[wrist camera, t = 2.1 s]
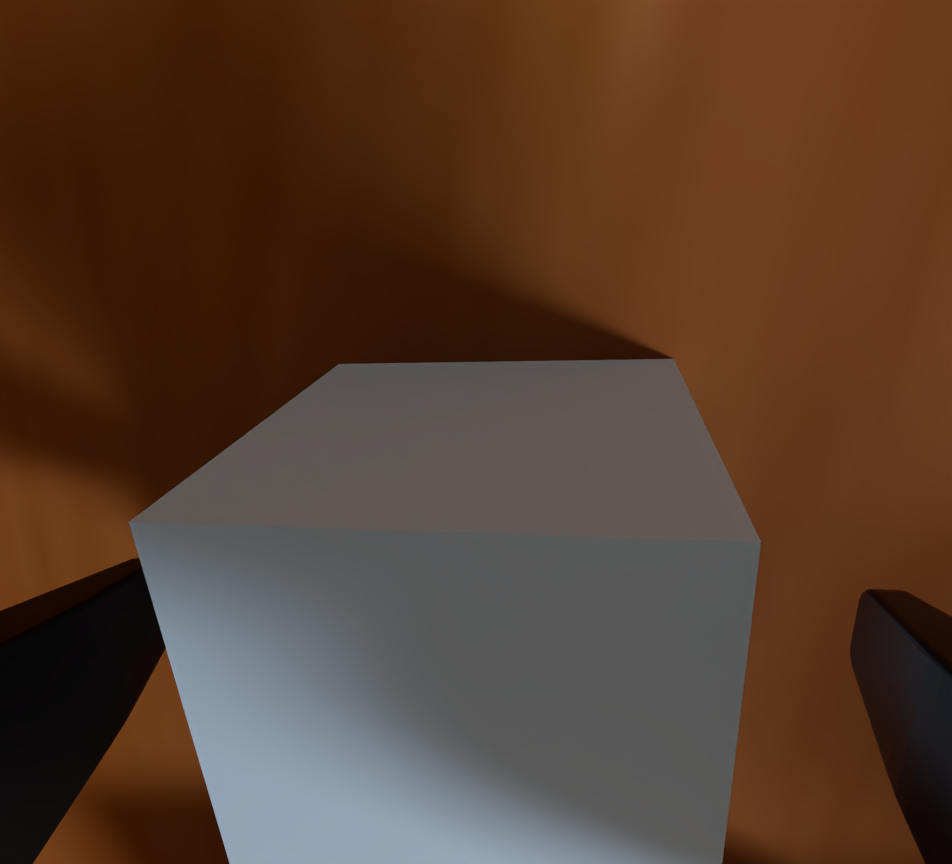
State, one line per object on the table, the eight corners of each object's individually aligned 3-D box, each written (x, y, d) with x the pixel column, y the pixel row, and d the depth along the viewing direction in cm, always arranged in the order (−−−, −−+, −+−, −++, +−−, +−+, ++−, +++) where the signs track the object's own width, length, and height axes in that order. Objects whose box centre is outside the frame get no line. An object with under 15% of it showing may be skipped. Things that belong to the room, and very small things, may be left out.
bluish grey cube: (377, 624, 12) (243, 910, 7) (341, 362, 10) (128, 522, 5) (657, 641, 11) (708, 977, 6) (672, 357, 9) (761, 542, 4)
